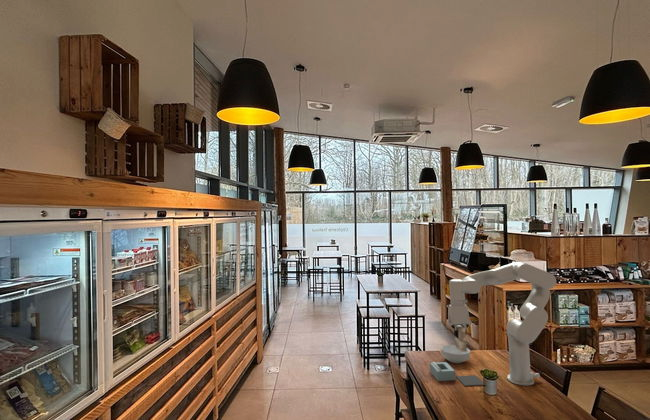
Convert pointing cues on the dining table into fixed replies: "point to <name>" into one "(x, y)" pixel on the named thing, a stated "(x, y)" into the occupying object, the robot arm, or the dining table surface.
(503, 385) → the dining table surface
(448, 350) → the cereal bowl
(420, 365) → the dining table surface
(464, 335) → the cream tall block
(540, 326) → the robot arm
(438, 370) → the dispenser
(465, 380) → the mat
